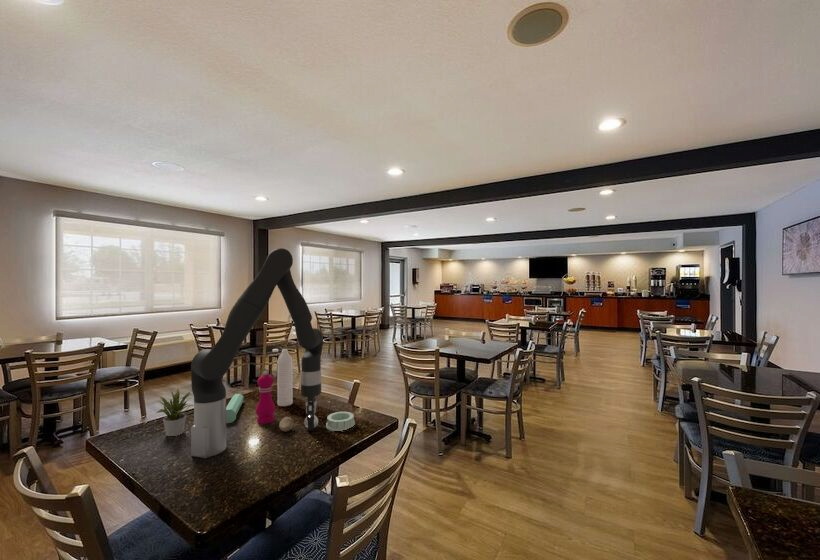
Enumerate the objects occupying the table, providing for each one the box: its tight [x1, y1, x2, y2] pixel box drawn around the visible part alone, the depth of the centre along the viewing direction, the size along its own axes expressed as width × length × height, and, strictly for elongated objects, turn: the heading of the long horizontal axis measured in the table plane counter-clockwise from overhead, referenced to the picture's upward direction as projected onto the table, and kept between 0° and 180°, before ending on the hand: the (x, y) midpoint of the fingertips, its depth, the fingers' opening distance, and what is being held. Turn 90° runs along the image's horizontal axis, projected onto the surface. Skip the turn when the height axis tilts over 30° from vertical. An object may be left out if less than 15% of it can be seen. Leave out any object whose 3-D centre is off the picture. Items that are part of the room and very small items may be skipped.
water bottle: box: [272, 348, 294, 407], centre depth 160 cm, size 9×6×25 cm
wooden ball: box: [278, 416, 294, 432], centre depth 131 cm, size 5×5×5 cm
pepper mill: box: [255, 370, 276, 425], centre depth 141 cm, size 7×7×20 cm
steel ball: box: [303, 414, 319, 429], centre depth 133 cm, size 5×5×5 cm
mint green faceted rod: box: [226, 393, 244, 424], centre depth 151 cm, size 6×6×25 cm
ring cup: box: [325, 411, 356, 432], centre depth 136 cm, size 11×11×4 cm
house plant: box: [155, 388, 194, 437], centre depth 129 cm, size 14×14×16 cm
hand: (311, 426), depth 133 cm, fingers closed on steel ball, 5 cm apart
